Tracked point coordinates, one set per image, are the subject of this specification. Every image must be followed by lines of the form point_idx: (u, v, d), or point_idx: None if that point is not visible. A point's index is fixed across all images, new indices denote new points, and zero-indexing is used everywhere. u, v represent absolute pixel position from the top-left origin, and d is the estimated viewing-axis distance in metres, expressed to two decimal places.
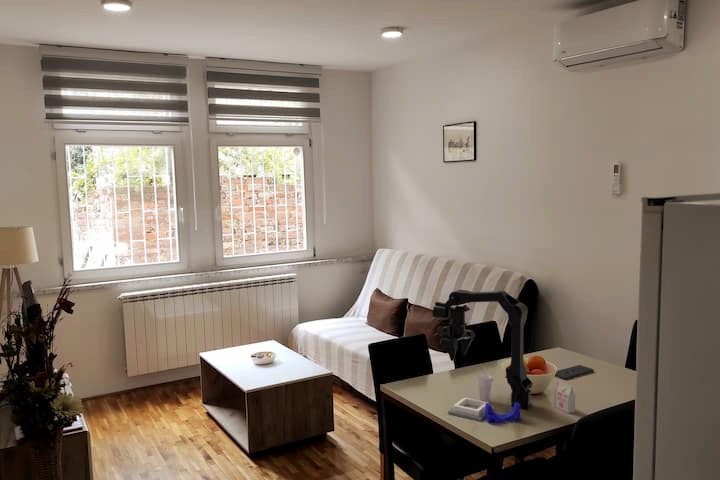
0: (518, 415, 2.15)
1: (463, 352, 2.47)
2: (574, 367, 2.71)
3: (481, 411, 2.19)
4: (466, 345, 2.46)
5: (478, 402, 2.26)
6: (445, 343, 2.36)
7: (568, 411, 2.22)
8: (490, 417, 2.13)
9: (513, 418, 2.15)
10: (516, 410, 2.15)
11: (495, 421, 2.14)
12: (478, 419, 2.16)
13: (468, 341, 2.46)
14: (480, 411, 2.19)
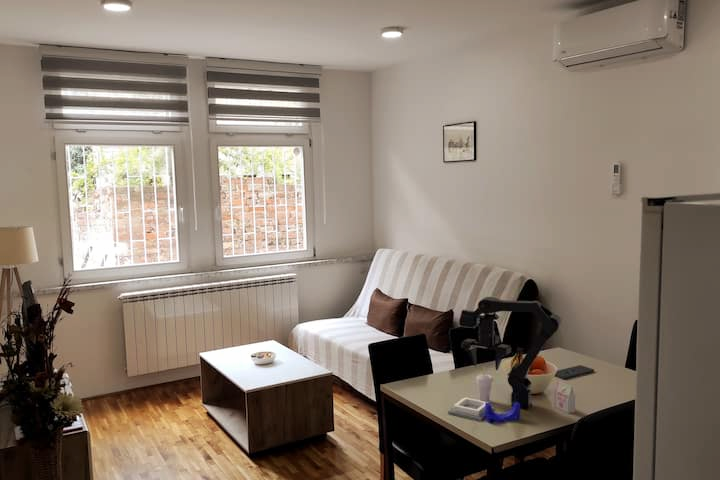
0: (518, 415, 2.16)
1: None
2: (574, 367, 2.71)
3: (481, 411, 2.19)
4: None
5: (478, 402, 2.26)
6: None
7: (568, 411, 2.22)
8: (490, 417, 2.14)
9: (513, 418, 2.16)
10: (515, 410, 2.15)
11: (495, 421, 2.14)
12: (478, 419, 2.16)
13: None
14: (480, 411, 2.19)
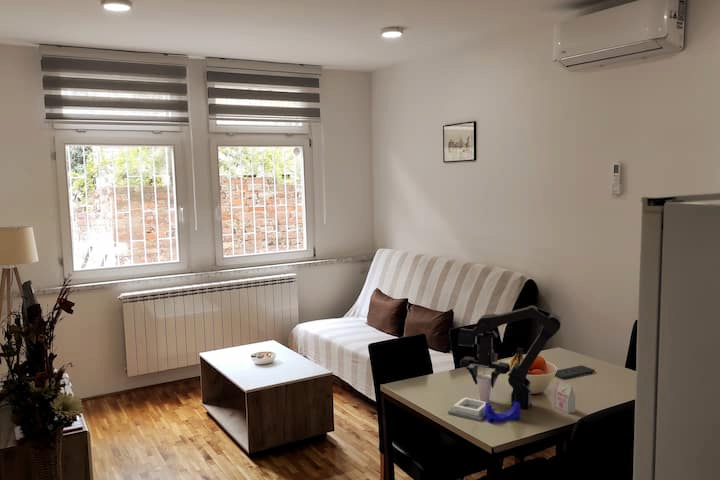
0: (518, 414, 2.16)
1: None
2: (575, 367, 2.71)
3: (481, 411, 2.19)
4: None
5: (478, 402, 2.26)
6: None
7: (568, 411, 2.22)
8: (490, 416, 2.14)
9: (513, 417, 2.16)
10: (515, 409, 2.16)
11: (495, 420, 2.14)
12: (478, 419, 2.16)
13: None
14: (480, 411, 2.19)
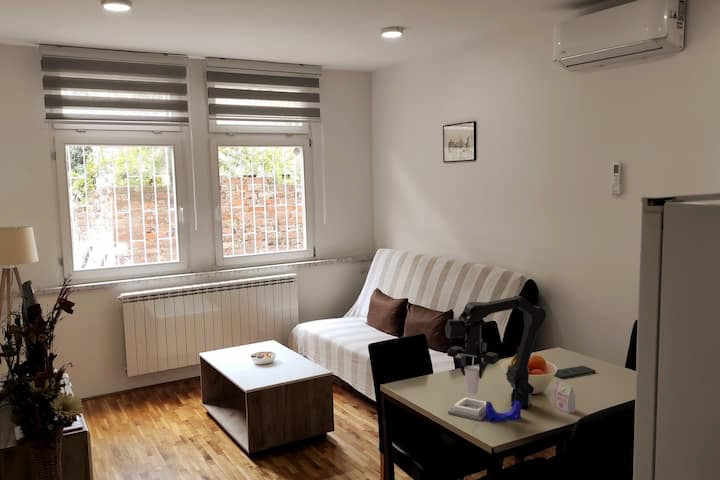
0: (518, 414, 2.17)
1: None
2: (576, 367, 2.71)
3: (481, 411, 2.19)
4: None
5: (478, 402, 2.26)
6: None
7: (568, 411, 2.22)
8: (491, 416, 2.15)
9: (513, 417, 2.17)
10: (516, 409, 2.16)
11: (496, 420, 2.15)
12: (478, 419, 2.16)
13: None
14: (480, 411, 2.19)
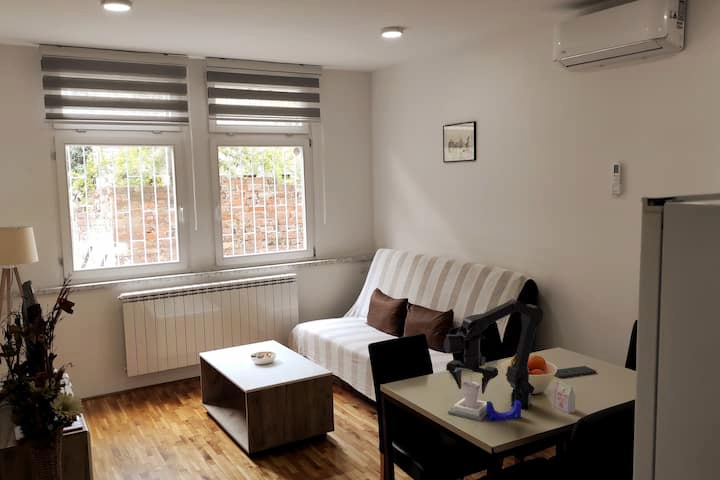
0: (519, 413, 2.17)
1: None
2: (577, 367, 2.71)
3: (481, 411, 2.19)
4: None
5: (478, 402, 2.26)
6: None
7: (568, 411, 2.22)
8: (491, 415, 2.15)
9: (514, 416, 2.17)
10: (516, 408, 2.17)
11: (496, 419, 2.15)
12: (478, 419, 2.16)
13: None
14: (480, 411, 2.19)
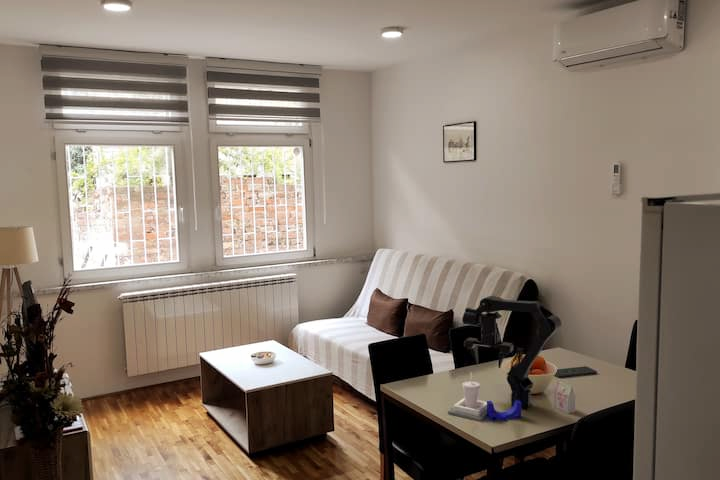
0: (519, 412, 2.18)
1: None
2: (578, 368, 2.71)
3: (481, 411, 2.19)
4: None
5: (478, 402, 2.26)
6: None
7: (568, 411, 2.22)
8: (492, 415, 2.15)
9: (514, 415, 2.18)
10: (517, 408, 2.17)
11: (497, 419, 2.16)
12: (478, 419, 2.16)
13: None
14: (480, 411, 2.19)
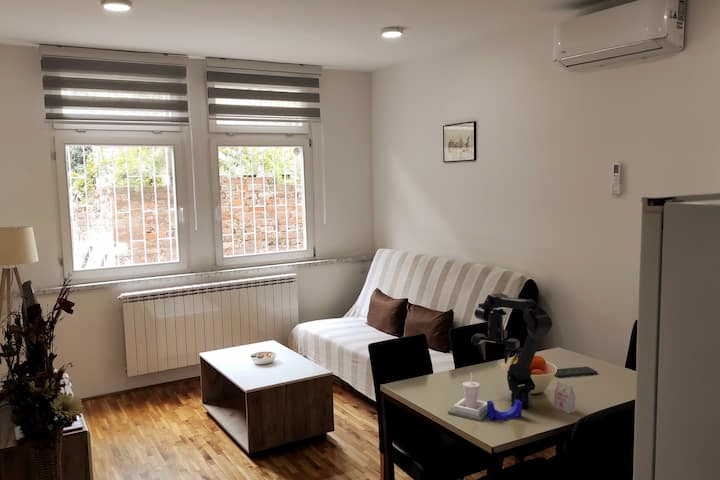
0: (519, 412, 2.18)
1: None
2: (579, 368, 2.71)
3: (481, 411, 2.19)
4: None
5: (478, 402, 2.26)
6: None
7: (568, 411, 2.22)
8: (492, 414, 2.16)
9: (514, 415, 2.18)
10: (517, 407, 2.18)
11: (497, 418, 2.16)
12: (478, 419, 2.16)
13: None
14: (480, 411, 2.19)
